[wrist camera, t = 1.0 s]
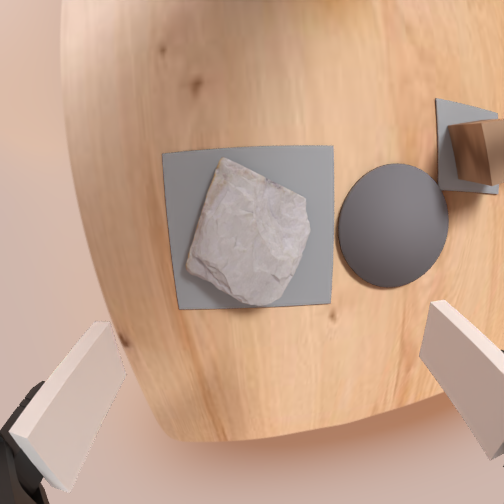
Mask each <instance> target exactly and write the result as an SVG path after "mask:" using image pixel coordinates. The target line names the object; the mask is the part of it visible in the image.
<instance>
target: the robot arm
mask: <svg viewBox="0 0 504 504" xmlns="http://www.w3.org/2000/svg"><path fill="white" fill-rule="evenodd" d="M419 357H420V358H421V360H422V361H423V362H424V364H425V365H426V366H427V368H428V369H429V371H430V372H431V373H432V375H433V376H434V377H435V379H436V380H437V382H438V383H439V384H440V386H441V387H442V389H443V390H444V392H445V393H446V394H447V396H448V397H449V399H450V400H451V402H452V403H453V404H454V406H455V407H456V409H457V410H458V412H459V413H460V415H461V416H462V418H463V419H464V421H465V422H466V424H467V425H468V427H469V428H470V430H471V431H472V433H473V434H474V436H475V437H476V439H477V441H478V442H479V444H480V445H481V447H482V449H483V450H484V452H485V453H486V455H487V457H488V458H489V460H492V459H494V458H496V457H498V456H500V455H502V454H504V351H503V350H500V349H499V348H498V347H497V346H495V345H494V344H493V343H492V342H491V341H490V340H489V339H488V338H487V337H486V336H485V335H484V334H483V333H481V332H480V331H479V330H478V329H477V328H476V327H475V326H474V325H473V324H472V323H470V322H469V321H468V320H467V319H466V318H465V317H464V316H463V315H461V314H460V313H459V312H458V311H457V310H456V309H455V308H453V307H452V306H451V305H450V304H449V303H448V302H446V301H445V300H440V301H434V302H430V307H429V312H428V317H427V322H426V327H425V332H424V336H423V341H422V345H421V349H420V353H419ZM125 377H126V371H125V368H124V365H123V363H122V360H121V356H120V353H119V350H118V347H117V343H116V340H115V337H114V334H113V329H112V326H111V322H104V321H95V322H94V323H93V324H92V325H91V326H90V327H89V329H88V330H87V331H86V332H85V333H84V335H83V336H82V337H81V338H80V339H79V341H78V342H77V343H76V344H75V346H74V347H73V348H72V349H71V350H70V352H69V353H68V354H67V355H66V356H65V358H64V359H63V360H62V361H61V362H60V364H59V365H58V367H57V368H56V369H55V370H54V371H53V373H52V374H51V375H50V376H49V378H48V379H47V380H46V381H42V382H40V383H39V384H37V385H36V386H35V387H33V388H32V389H31V390H30V392H29V393H28V394H27V395H26V397H25V399H23V401H22V402H21V403H20V406H19V407H17V409H16V410H15V411H14V412H13V414H12V415H11V416H10V418H9V419H8V421H7V422H6V423H5V425H4V426H3V427H2V429H1V430H0V504H49V502H48V499H47V495H46V492H45V489H44V488H43V486H42V484H41V483H40V482H41V481H42V478H43V477H44V478H45V479H46V480H47V482H48V483H49V484H50V485H51V486H52V487H54V488H57V489H60V490H63V491H66V492H69V493H71V491H72V488H73V486H74V483H75V481H76V479H77V476H78V475H79V472H80V470H81V468H82V465H83V463H84V461H85V459H86V457H87V455H88V452H89V450H90V448H91V446H92V444H93V442H94V440H95V437H96V436H97V433H98V431H99V429H100V427H101V425H102V423H103V421H104V419H105V417H106V415H107V413H108V411H109V409H110V406H111V405H112V403H113V401H114V399H115V397H116V395H117V393H118V391H119V389H120V387H121V385H122V383H123V381H124V379H125ZM503 467H504V466H503Z"/></svg>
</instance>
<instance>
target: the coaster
mask: <svg viewBox="0 0 504 504" xmlns="http://www.w3.org/2000/svg"><path fill="white" fill-rule="evenodd" d="M448 221H449V219H448V209H447V204H446V201H445V198H444V196H443V193H442V191H441V189H440V188H439V186H438V185H437V183H436V182H435V181H434V180H433V179H432V178H431V177H430V176H429V175H428V174H427V173H425V172H424V171H422V170H420V169H418V168H416V167H414V166H410V165H405V164H388V165H383V166H380V167H377V168H375V169H373V170H371V171H369V172H368V173H366V174H365V175H364V176H362V177H361V178H360V179H359V180H358V181H357V182H356V183H355V185H354V186H353V187H352V188H351V190H350V191H349V193H348V195H347V197H346V199H345V201H344V203H343V206H342V209H341V212H340V217H339V225H338V236H339V242H340V247H341V250H342V253H343V255H344V257H345V260H346V261H347V263H348V264H349V266H350V267H351V268H352V269H353V271H354V272H355V273H356V274H357V275H358V276H359V277H361V278H362V279H363V280H365V281H367V282H369V283H371V284H373V285H376V286H380V287H398V286H402V285H406V284H408V283H410V282H413V281H415V280H416V279H418V278H419V277H421V276H422V275H423V274H425V273H426V272H427V271H428V270H429V269H430V268H431V267H432V265H433V264H434V263H435V262H436V260H437V258H438V257H439V255H440V253H441V251H442V249H443V247H444V244H445V241H446V237H447V232H448Z"/></svg>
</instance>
